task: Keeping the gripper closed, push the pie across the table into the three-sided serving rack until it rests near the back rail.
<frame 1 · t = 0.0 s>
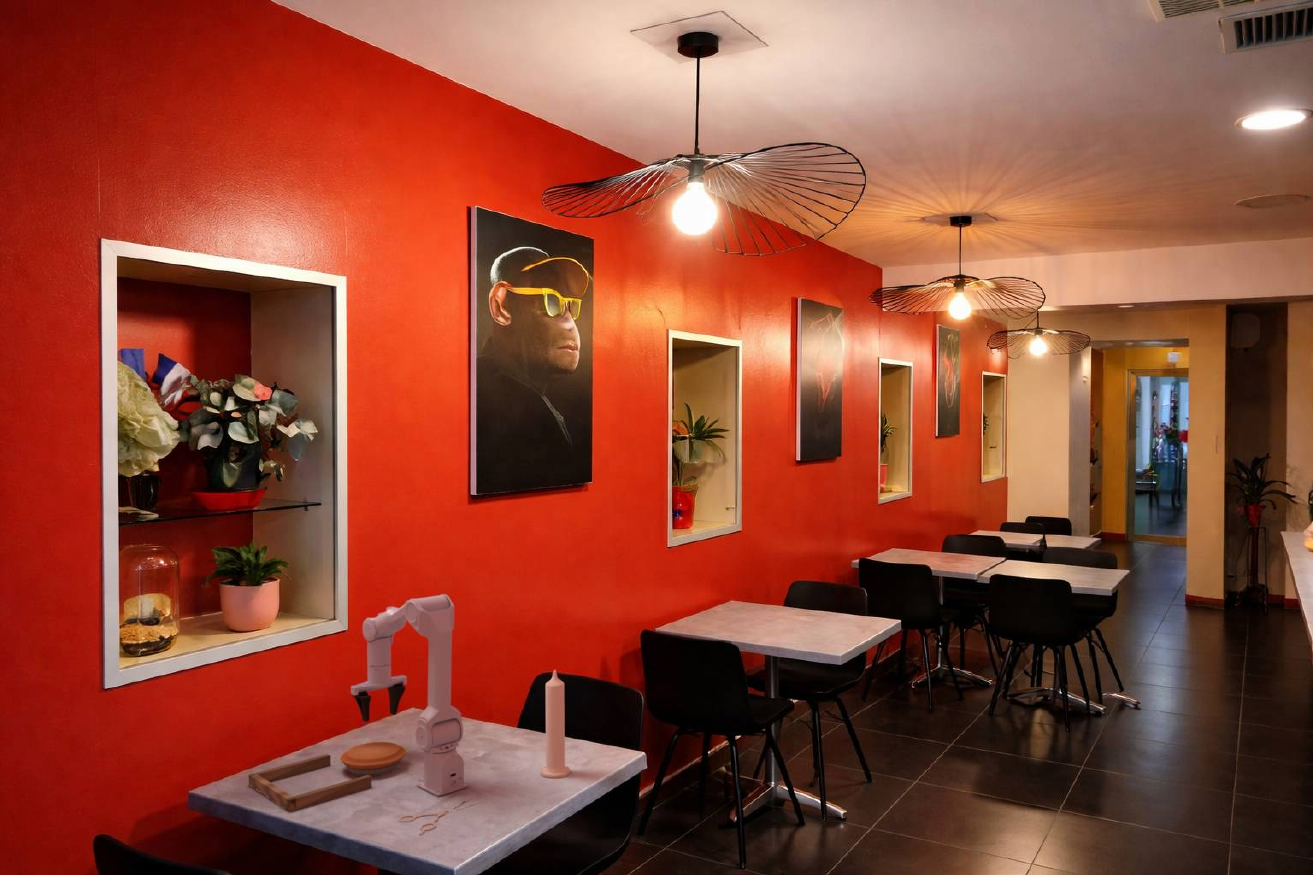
hand: (379, 717, 239), 10 cm above the table, tool pointing down, fingers open, 7 cm apart
pie: (373, 769, 231), on the table
scissors: (443, 816, 204), on the table
candle: (555, 773, 227), on the table
serving rack: (312, 785, 220), on the table
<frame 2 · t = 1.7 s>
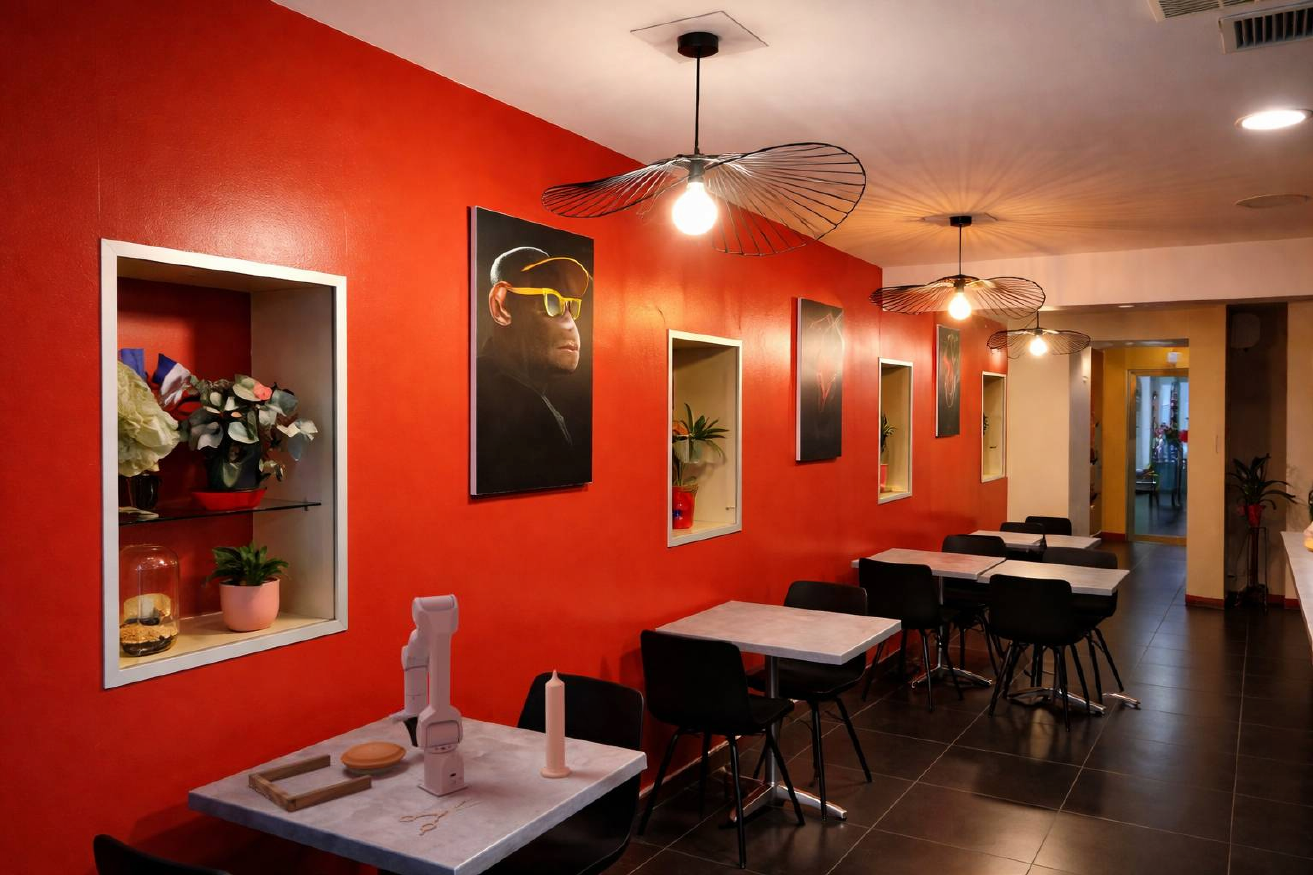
hand: (416, 745, 240), 3 cm above the table, tool pointing down, fingers closed
nothing on the table moved.
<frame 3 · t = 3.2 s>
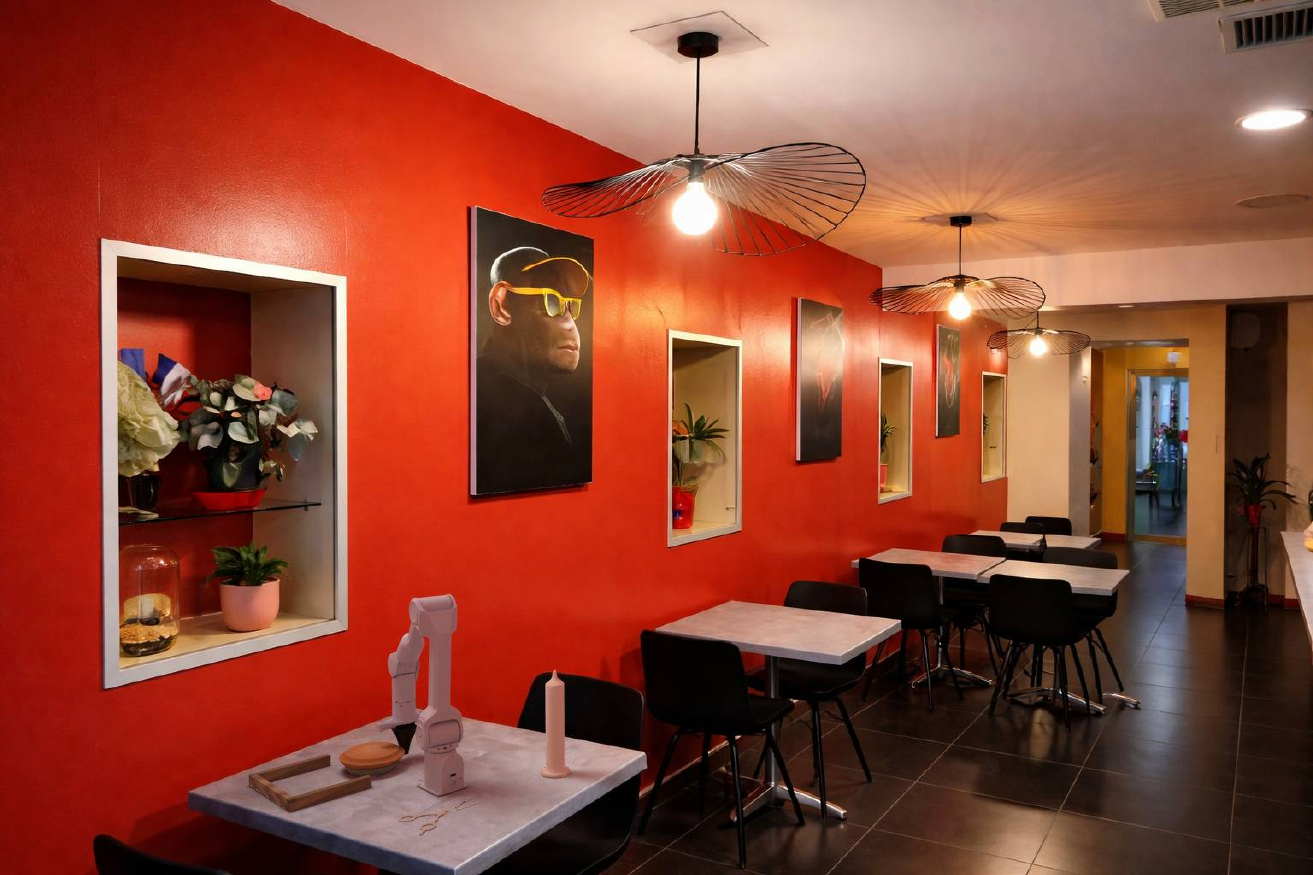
hand: (404, 753, 237), 1 cm above the table, tool pointing down, fingers closed
pie: (372, 769, 231), on the table, touching gripper
everything else where it was.
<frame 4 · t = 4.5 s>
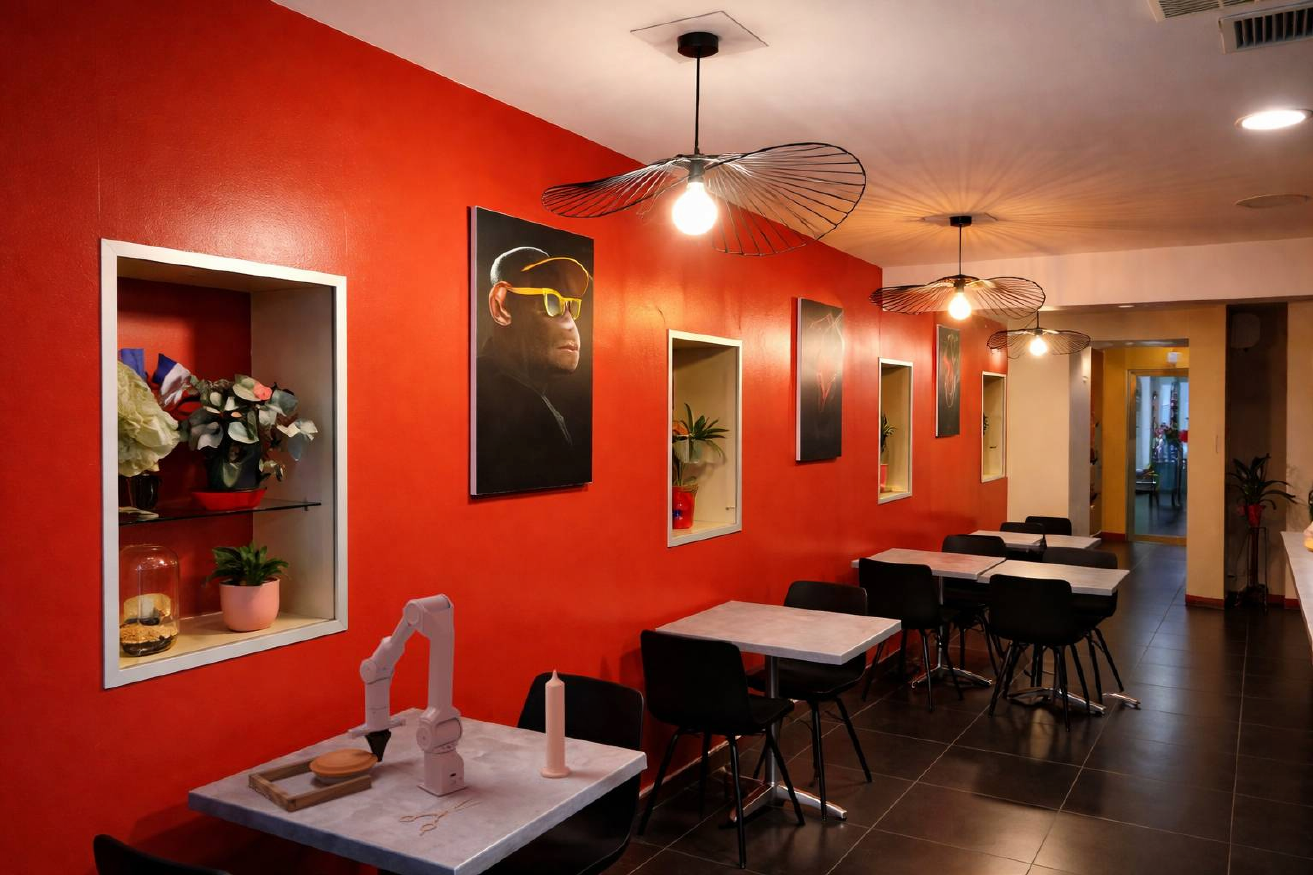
hand: (377, 760, 232), 1 cm above the table, tool pointing down, fingers closed
pie: (343, 777, 225), on the table, touching gripper
everything else where it was.
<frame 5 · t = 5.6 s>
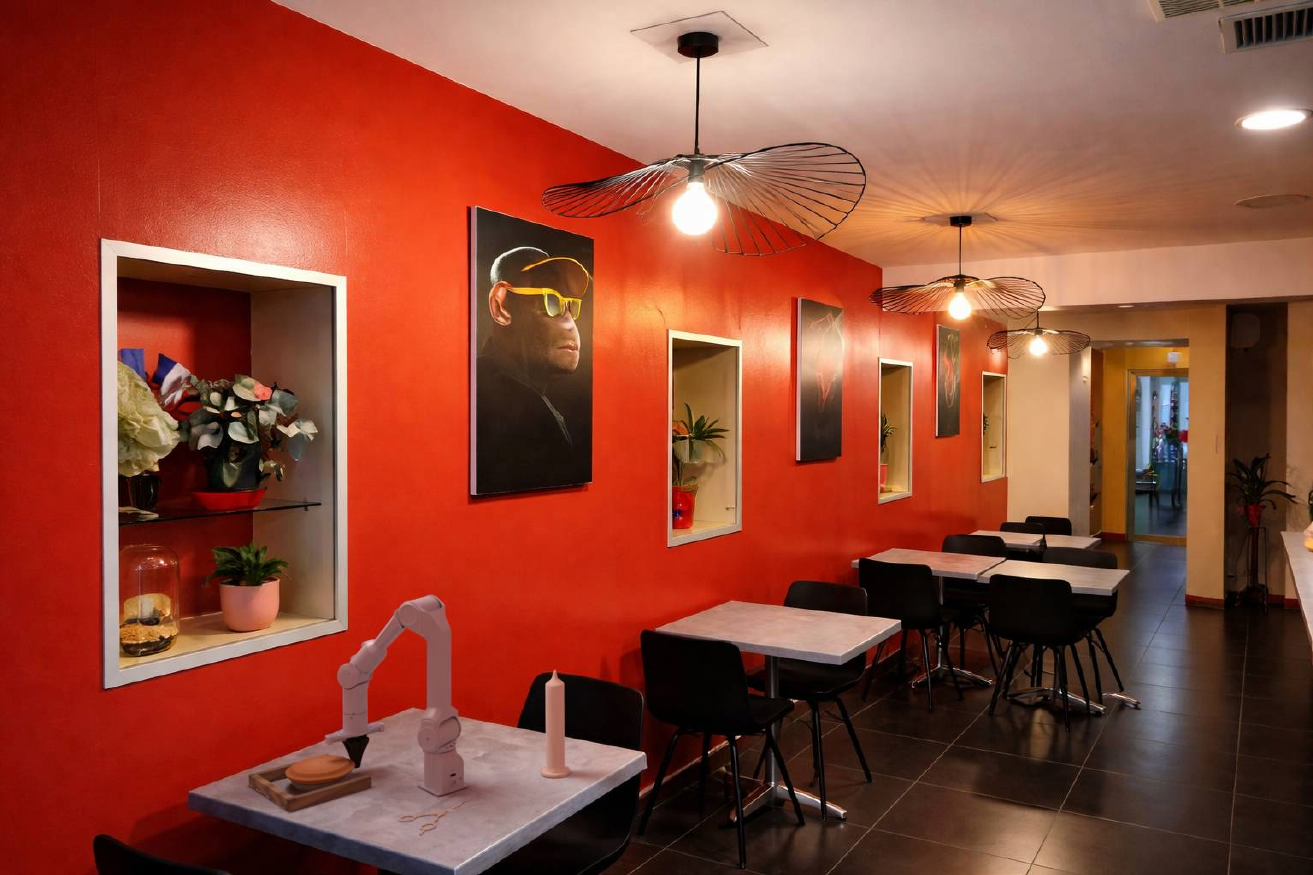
hand: (355, 767, 228), 1 cm above the table, tool pointing down, fingers closed
pie: (320, 784, 221), on the table, touching gripper
everything else where it was.
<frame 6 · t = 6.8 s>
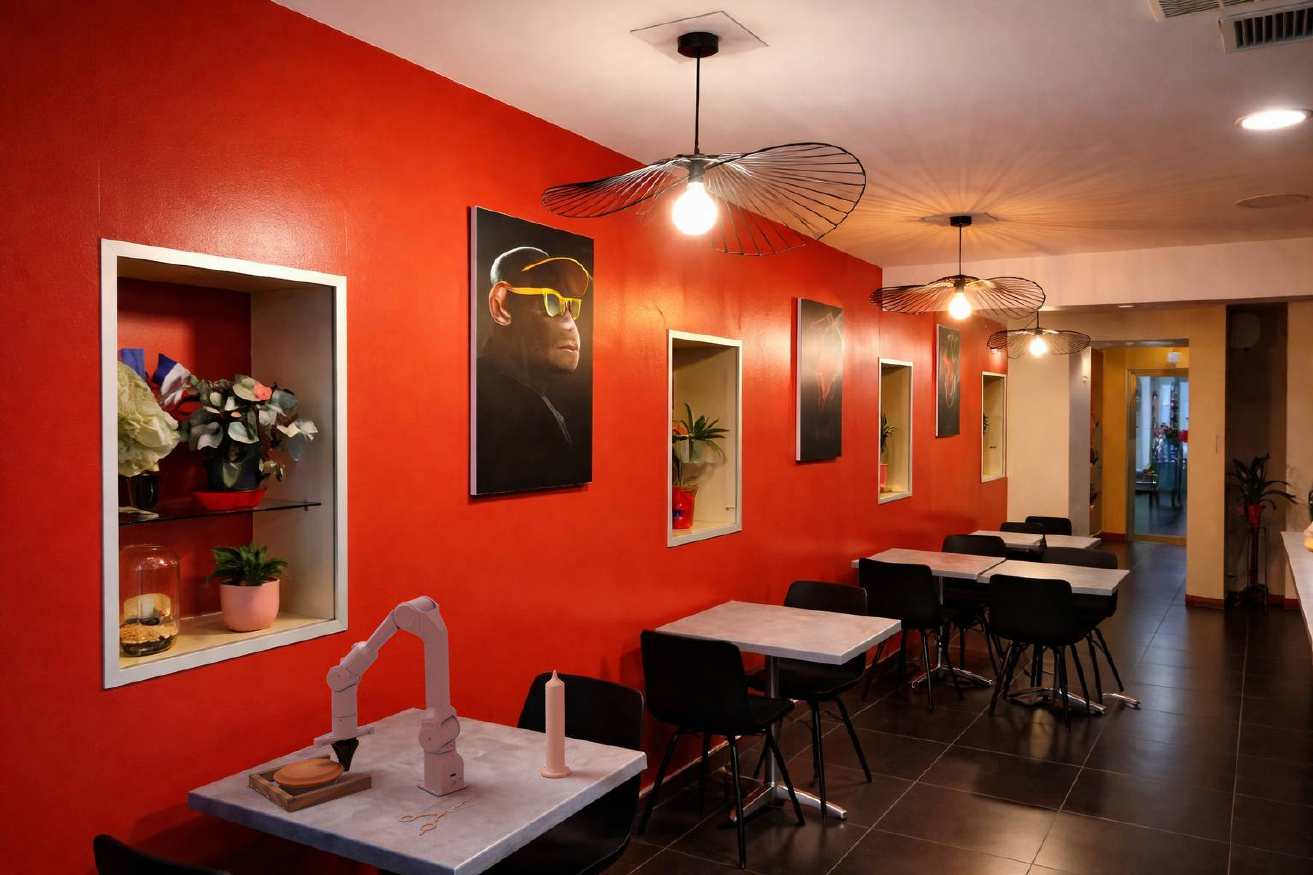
hand: (344, 770, 226), 1 cm above the table, tool pointing down, fingers closed
pie: (309, 788, 219), on the table, touching gripper
everything else where it was.
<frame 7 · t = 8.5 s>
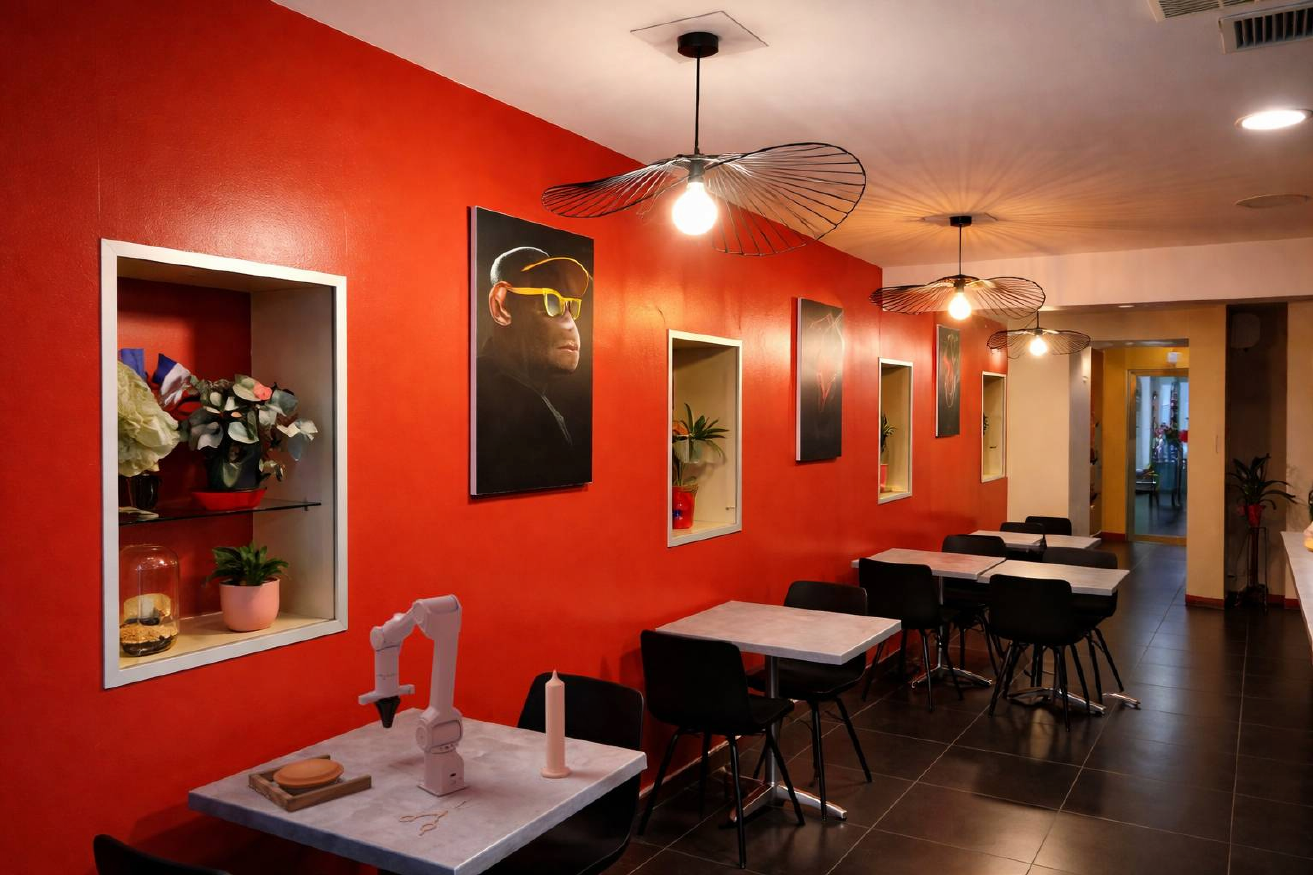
hand: (387, 727, 236), 8 cm above the table, tool pointing down, fingers closed
pie: (309, 788, 219), on the table
everything else where it was.
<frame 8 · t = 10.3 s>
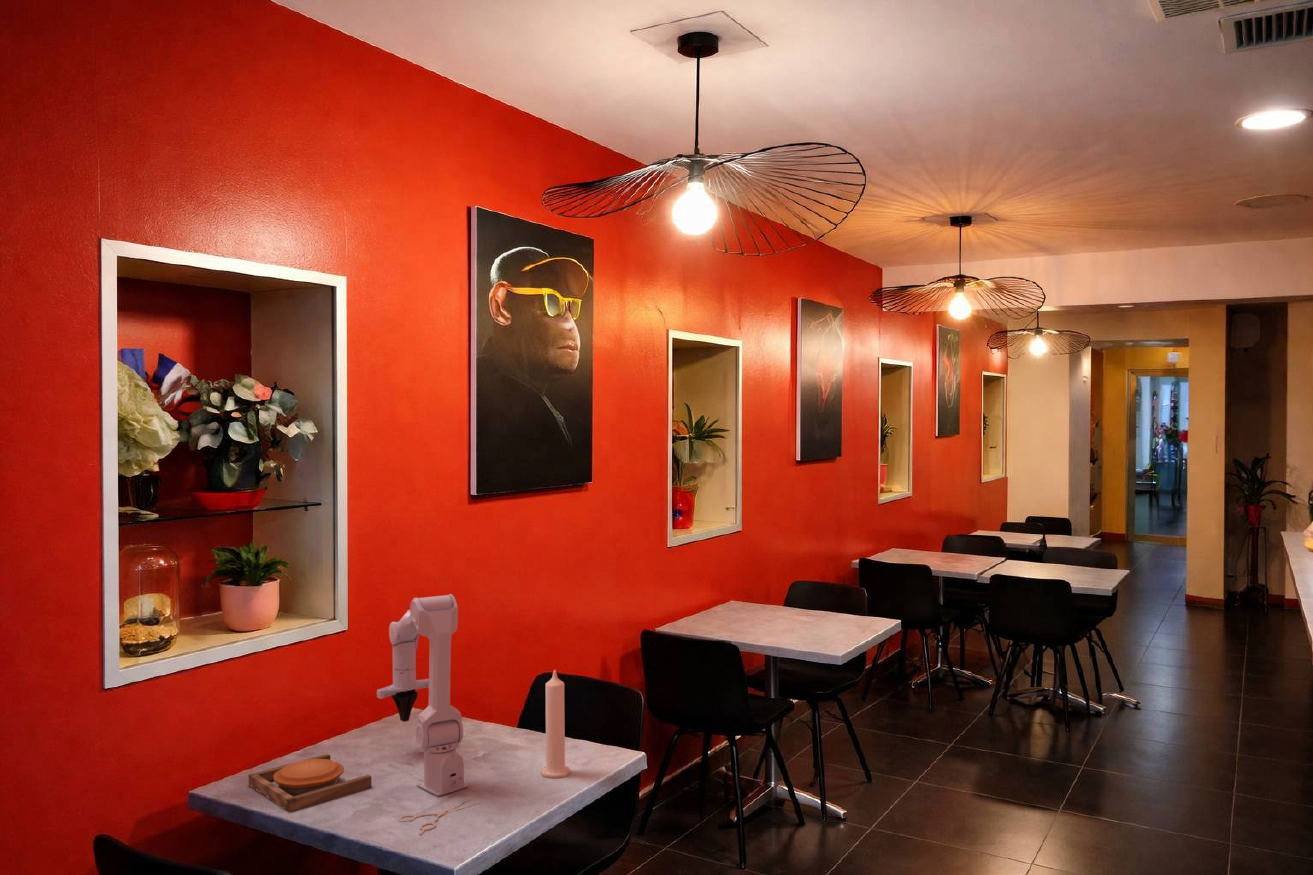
hand: (404, 720, 242), 8 cm above the table, tool pointing down, fingers closed
nothing on the table moved.
at the end: pie 1.0 cm off-centre on the serving rack, point 0.0 cm above the serving rack's base; pie moved 16.5 cm from its start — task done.
